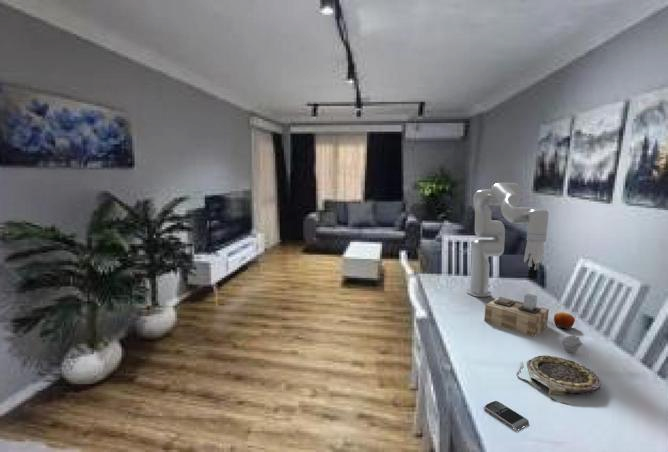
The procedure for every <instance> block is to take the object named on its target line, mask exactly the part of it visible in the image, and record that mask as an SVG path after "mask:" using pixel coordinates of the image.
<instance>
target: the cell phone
mask: <svg viewBox="0 0 668 452" xmlns="http://www.w3.org/2000/svg"><path fill="white" fill-rule="evenodd" d="M483 409H484V411H486V412H487V411H488V412H489V414H490V413H491V414H490V415H491V416H493V415H494V418H496V417H497V418H496V419H498V420H499V419H500V420H499V421H500V422H502V421H503V422H502V423H504V424H505V423H506V424H505V425H506V426H508V425H509V426H508V427H509V428H511V427H512V428H511V429H513V428H514V429H516V430H515V431H519V430H518V429H520V428H522V427H523V426H525V427H527V426H528V425H527V424H530V422H529V420H528V419H527V418H526V417H524V416H523V415H521V414H519V413H518V412H517V411H514V410H513V409H512V408H510V407H508V406H506V405H505V404H503V403H502V402H500V401H497V400H493V401H490V402H488V403H486V404H484V405H483ZM488 412H487V413H488ZM526 425H527V426H526ZM514 429H513V430H514ZM522 429H523V428H522ZM520 430H521V429H520Z"/></svg>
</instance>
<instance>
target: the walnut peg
mask: <svg viewBox="0 0 668 452" xmlns="http://www.w3.org/2000/svg"><path fill="white" fill-rule="evenodd" d="M499 302H500V303H504V304H509V303H511V301H507V300H503V299H502V300H500V301H499Z"/></svg>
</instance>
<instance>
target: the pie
mask: <svg viewBox="0 0 668 452" xmlns="http://www.w3.org/2000/svg"><path fill="white" fill-rule="evenodd" d="M531 358H532V357H531ZM519 364H520V367H519V368H518V371H517V372H516V375H517V377H518V378H520V379H522V380H523V381H526V382H528V381H529V380H528V379H525V378H521V377H520V374H522V371H521V369H522V370H524V369H525V368H524V365H525V364H524V363H523V361H521V362H520V363H519ZM523 368H524V369H523ZM526 368H527V372H528V375H529V377H530V380H531V381H529V382H528V384H529V385H530V386H532V387H533V388H535V389H541V386H540V385H539V384H537V382H540V384H542V385H544V386H545V387H547V388H548V389H549V391H548V397H549V396H550V399H551V400H553V401H556V402H557V403H559V401H558V400H556V399H555V398H553V396H552V394H557V395H562V396H568V395H580V394H581V395H582V394H592V393H593V392H597V391H598V390H600V389H601V387H602V382H601V379H600V377H599V376H598V374H596V373H595V371H592V369H590V368H588V367H586V366H585V365H582V364H581V365H580V364H579V363H577V362H576V361H574V360H570V359H568V358H563V357H559V356H552V355H546V354H545V355H537V356H534V357H533V358H532V359H528V360H527V361H526ZM519 373H520V374H519ZM518 375H519V376H518ZM534 380H536V381H537V382H536V381H534ZM551 393H552V394H551ZM561 403H562V404H563V403H564V404H567V403H566V402H562V401H561Z"/></svg>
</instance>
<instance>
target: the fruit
mask: <svg viewBox="0 0 668 452" xmlns="http://www.w3.org/2000/svg"><path fill="white" fill-rule="evenodd" d="M575 321H576V319H575V316H573V315H572V314H570V313H567V312H564V311H560V312H556V313H555V314H554V316H553V322H554V324H555V326H556V327H558V328H564V329H566V330H568V331H569V329H571V328H572V327H573V326H574V325H575Z"/></svg>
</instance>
